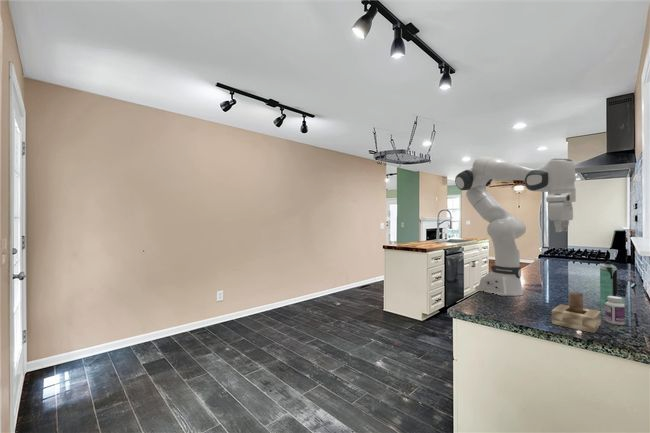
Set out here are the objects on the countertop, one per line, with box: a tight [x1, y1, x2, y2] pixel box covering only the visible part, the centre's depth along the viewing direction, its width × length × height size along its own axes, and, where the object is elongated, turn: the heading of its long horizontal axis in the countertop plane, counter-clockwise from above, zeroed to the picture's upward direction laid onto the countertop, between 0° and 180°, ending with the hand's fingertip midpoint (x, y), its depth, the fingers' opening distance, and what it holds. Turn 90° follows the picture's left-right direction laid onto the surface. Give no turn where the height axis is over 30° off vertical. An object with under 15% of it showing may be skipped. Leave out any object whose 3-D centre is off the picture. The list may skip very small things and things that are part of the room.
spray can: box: [599, 260, 618, 307], centre depth 133 cm, size 6×6×20 cm
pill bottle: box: [604, 296, 626, 326], centre depth 112 cm, size 5×5×10 cm
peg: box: [568, 291, 584, 314], centre depth 111 cm, size 4×4×10 cm
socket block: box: [551, 303, 602, 334], centre depth 111 cm, size 12×12×5 cm
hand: (561, 231), depth 121 cm, fingers open, 8 cm apart
